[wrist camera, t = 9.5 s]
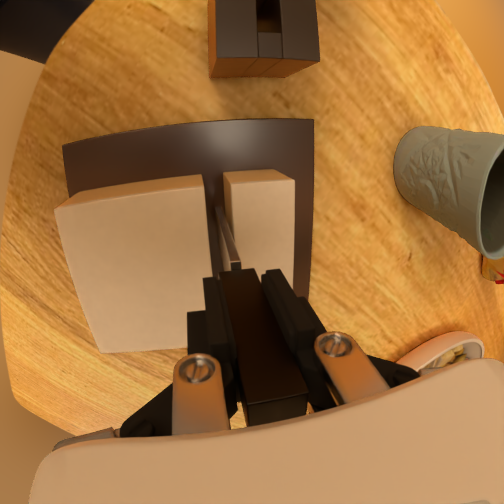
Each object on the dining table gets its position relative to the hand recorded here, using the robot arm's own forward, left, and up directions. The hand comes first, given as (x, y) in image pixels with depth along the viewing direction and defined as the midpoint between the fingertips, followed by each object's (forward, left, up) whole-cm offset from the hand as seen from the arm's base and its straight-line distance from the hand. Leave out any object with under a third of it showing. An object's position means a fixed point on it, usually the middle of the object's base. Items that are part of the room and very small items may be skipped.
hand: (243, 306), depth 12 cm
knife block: (-14, +3, -14) cm, 20 cm away
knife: (0, 0, -11) cm, 11 cm away
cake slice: (+3, +3, -13) cm, 13 cm away
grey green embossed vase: (-3, +21, -14) cm, 25 cm away
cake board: (+3, -2, -14) cm, 14 cm away
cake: (+3, -6, -13) cm, 14 cm away
